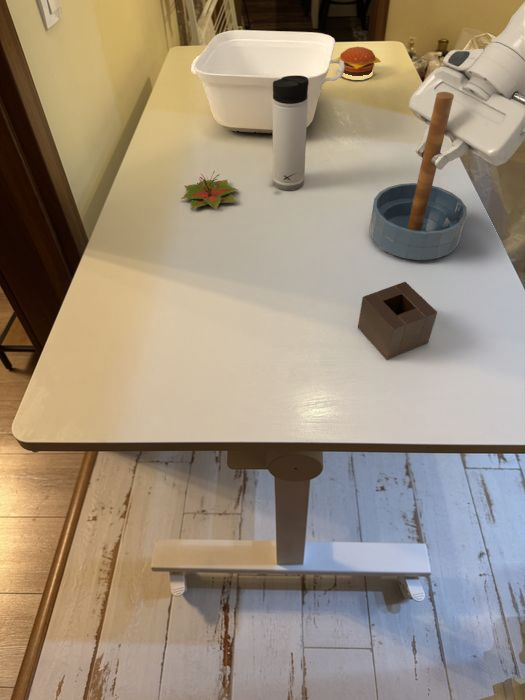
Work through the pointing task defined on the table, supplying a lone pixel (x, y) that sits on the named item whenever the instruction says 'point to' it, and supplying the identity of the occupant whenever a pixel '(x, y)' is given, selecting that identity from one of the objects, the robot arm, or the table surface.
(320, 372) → the table surface
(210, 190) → the lily flower
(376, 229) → the bowl
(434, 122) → the stirring stick
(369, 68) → the hamburger
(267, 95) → the white plastic tub
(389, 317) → the holder
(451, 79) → the robot arm
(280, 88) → the travel mug
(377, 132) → the table surface
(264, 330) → the table surface
